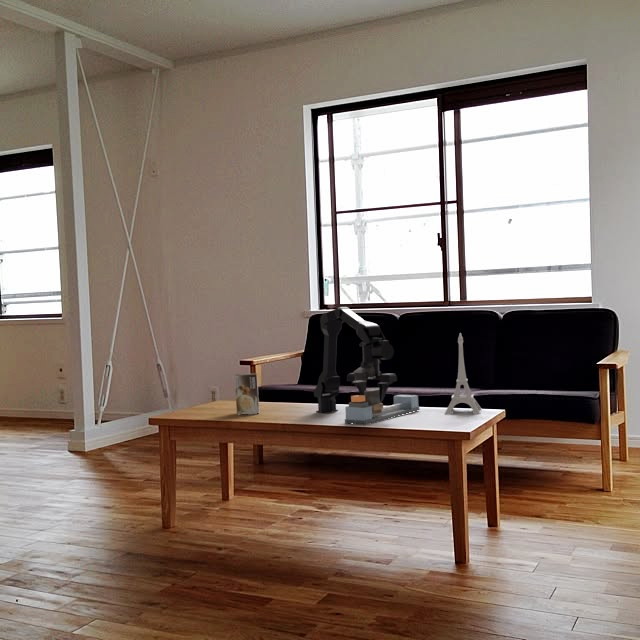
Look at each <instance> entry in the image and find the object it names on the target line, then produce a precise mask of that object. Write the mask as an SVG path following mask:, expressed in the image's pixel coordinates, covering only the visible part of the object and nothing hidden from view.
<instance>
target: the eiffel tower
mask: <svg viewBox="0 0 640 640" xmlns="http://www.w3.org/2000/svg"><path fill="white" fill-rule="evenodd" d="M457 343H458V366H457V367H458V369H457V371H458V372H457V379H456V380H455V381H456V385H455V390H454V393H453V394H452V395H451V401H450V403H449V405H448V406H447V408H446V409H445V412H443V414H444V415H452V411H454V410H455V408H454V407H455V406H456V405H458V404H460V403H461V404H462V403H464V404H466V405H468V406H469V407H470V408H471V409H472V415H481V411H482V409H483V408H482V407H481V406H480V404H479V403H478V401H477V400H476V399H475V398H474V395H475V394H472V391H471V389H470V386H469V383H468V380H469V379H468V378H467V373H466V367H465V359H464V358H465V357H464V346H463V344H464V337H463V336H462V333H461V332H460V333H459V335H458V338H457ZM462 385H463V388H464V392H465V394H460V391H461V386H462Z"/></svg>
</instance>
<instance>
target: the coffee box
mask: <svg viewBox="0 0 640 640" xmlns="http://www.w3.org/2000/svg"><path fill="white" fill-rule="evenodd" d="M234 386H235V388H234V389H235V404H236V405H235V406H236V415H237V414H248V415H258V414H257V413H259V414H260V399H259V385H258V373H239V374H237V373H236V374H234Z"/></svg>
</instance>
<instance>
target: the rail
mask: <svg viewBox="0 0 640 640" xmlns="http://www.w3.org/2000/svg"><path fill="white" fill-rule="evenodd" d="M344 409H345V419H344V424H346V423H353V424H352V425H359V424H364V425H363V426H367V425H371V424H374V422H375V423H378V422H377V421H379V422H382V421H381V420H383V421H385V420H384V419H387V420H389V419H388V418H391V417H394V416H398V415H402V414H406V413H409V412H413V411H417V410H420V411H421V409H420V406H419V396H418V395H413V394H412V395H411V394H397V395H394V396H393V404H392V405H386V406H383V409H382V413H378V414H374V415H372V406H368V402H365V401H363V402H351V401H350V402H348V405H346V406H345V408H344ZM406 415H407V414H406ZM402 416H403V415H402ZM398 417H399V416H398ZM394 418H395V417H394ZM391 419H392V418H391ZM370 423H371V424H370ZM366 424H367V425H366Z"/></svg>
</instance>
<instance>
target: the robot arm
mask: <svg viewBox="0 0 640 640" xmlns="http://www.w3.org/2000/svg"><path fill="white" fill-rule="evenodd" d="M319 322H320V329H321V331H322V333H323V336H324V340H323V365H322V372H321V373H320V375H319V376H318V381H317V384H316V387H315V389H314V390H313V396H314V398H317V407H318V408H317V409H318V410H315V412H316V413H325V414H326V413H327V414H331V413H333V412H338V411H339V409H337V400H336V397H337V396H339V393H340V388H341V377H340V376H339V375H338V373H337V369H336V367H337V345H338V344H337V343H338V335H339V333H340V331H341V330H342V327H343V323H345V324H347V325H348V326H350V327H351V328H353V329H354V330H355V331H356V335H357V336H358V338H360V340H362V341H361V342H360V343H359V347H362V361H361V362H360V367H358V368H357V369H356V370H354V371H353V372H350V373H348V374H347V376H346V382H351V384H352V385H354V386H355V387H356V388H357V390H358V391H359V395H364V391H367V381H379V382H378V383H377V386H378V389H379V394H380V402H381V403H382V402H383V401H384V399H385V396H386V393H387V391H388V389H389V387H390V385H392V384H393V383H395V382H397V381H398V376H397V375H396V373H387V372H386V373H382V371H380V364H382V362H381V360H387V361H388V360H391V359H392V358H393V356H394V355H395V349H394V347H393V345H392V344H391V343H390V340H387V339H386V337H385V335H384V333H383V331H382V329H381V327H380V325H378V324H377V323H374V322H371V321H367V320H364V319H363V318H362V317H361V316H359V315H358V314H356V313H355V312H354V311H353V310H351V309H350V307H347V306H339V307H336V308H334V309H332V310H330V311H328V312H324V313H323V314H322V315H321V316H320V319H319Z"/></svg>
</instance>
